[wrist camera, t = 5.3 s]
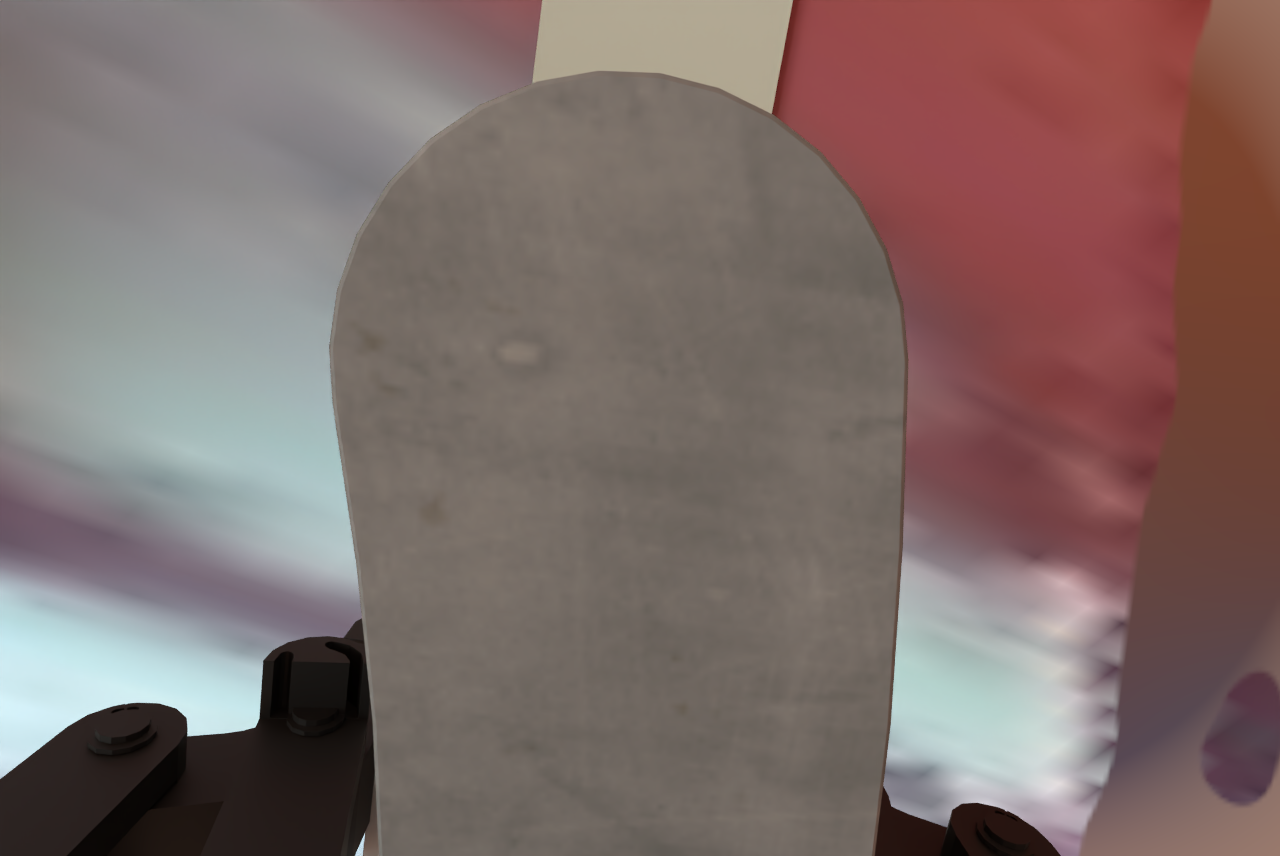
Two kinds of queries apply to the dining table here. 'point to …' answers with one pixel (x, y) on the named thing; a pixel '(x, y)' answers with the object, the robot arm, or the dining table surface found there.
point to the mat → (668, 41)
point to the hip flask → (624, 481)
